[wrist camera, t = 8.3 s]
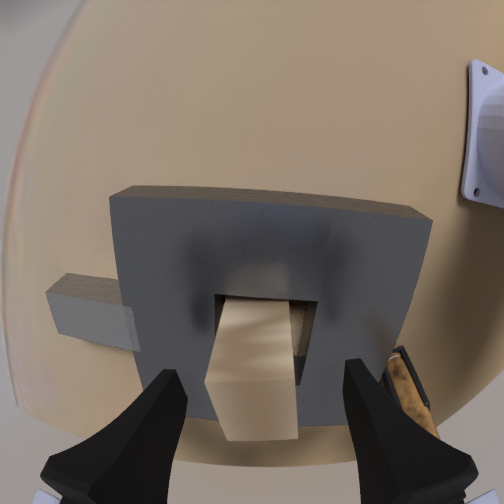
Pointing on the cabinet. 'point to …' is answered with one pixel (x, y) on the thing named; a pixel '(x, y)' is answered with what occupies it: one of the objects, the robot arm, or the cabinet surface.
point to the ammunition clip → (408, 389)
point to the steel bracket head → (250, 283)
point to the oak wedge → (254, 370)
